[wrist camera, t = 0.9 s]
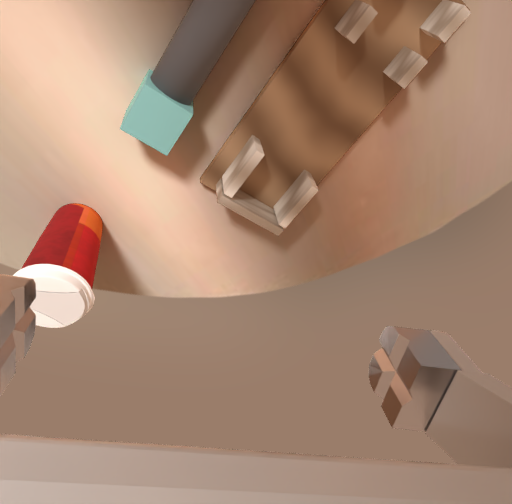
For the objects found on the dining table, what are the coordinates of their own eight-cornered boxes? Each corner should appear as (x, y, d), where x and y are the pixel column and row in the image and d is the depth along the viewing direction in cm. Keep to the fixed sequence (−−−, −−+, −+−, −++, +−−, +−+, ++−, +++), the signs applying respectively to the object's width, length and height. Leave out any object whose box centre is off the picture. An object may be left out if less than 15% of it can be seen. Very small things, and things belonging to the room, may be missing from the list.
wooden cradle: (384, -84, 37) (407, -85, 33) (464, 8, 42) (493, 17, 38) (199, 178, 50) (200, 200, 46) (279, 223, 55) (285, 246, 51)
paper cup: (37, 236, 52) (-4, 319, 41) (53, 185, 48) (12, 262, 37) (102, 256, 55) (80, 339, 44) (121, 209, 51) (102, 288, 40)
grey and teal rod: (292, -189, 32) (306, -205, 28) (338, -135, 34) (358, -143, 30) (126, 110, 44) (119, 128, 40) (168, 136, 46) (166, 155, 42)
